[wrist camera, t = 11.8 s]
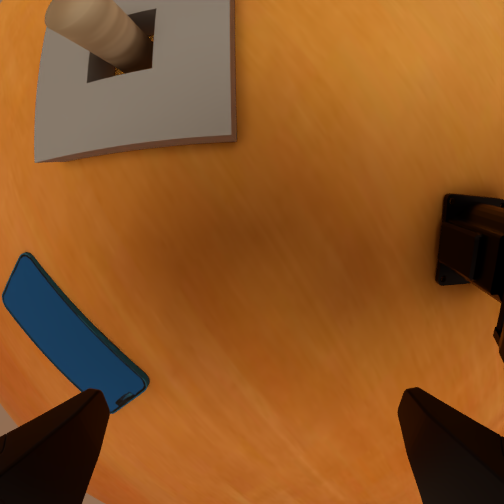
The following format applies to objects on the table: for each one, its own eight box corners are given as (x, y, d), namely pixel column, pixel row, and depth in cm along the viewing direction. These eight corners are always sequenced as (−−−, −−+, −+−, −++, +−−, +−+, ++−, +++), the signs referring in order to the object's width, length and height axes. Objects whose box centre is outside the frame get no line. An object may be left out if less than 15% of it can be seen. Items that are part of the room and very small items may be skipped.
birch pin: (162, 41, 15) (101, -29, 7) (161, 75, 16) (91, 17, 7) (126, 48, 15) (51, -8, 7) (123, 82, 16) (40, 38, 7)
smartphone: (23, 247, 19) (152, 385, 21) (31, 244, 20) (155, 378, 22) (-1, 300, 20) (109, 416, 23) (5, 296, 21) (113, 410, 24)
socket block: (234, -19, 14) (230, -48, 10) (236, 141, 17) (231, 134, 14) (77, 15, 14) (53, -1, 11) (65, 161, 17) (34, 162, 14)
